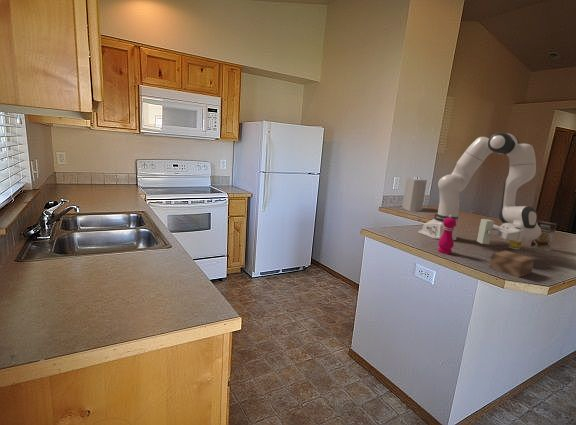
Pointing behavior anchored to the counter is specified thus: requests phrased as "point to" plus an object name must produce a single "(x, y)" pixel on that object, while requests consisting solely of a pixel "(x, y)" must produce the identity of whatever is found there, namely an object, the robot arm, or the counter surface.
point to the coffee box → (544, 236)
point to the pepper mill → (447, 236)
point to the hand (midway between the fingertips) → (483, 230)
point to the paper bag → (414, 194)
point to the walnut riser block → (512, 263)
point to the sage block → (485, 231)
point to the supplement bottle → (514, 245)
